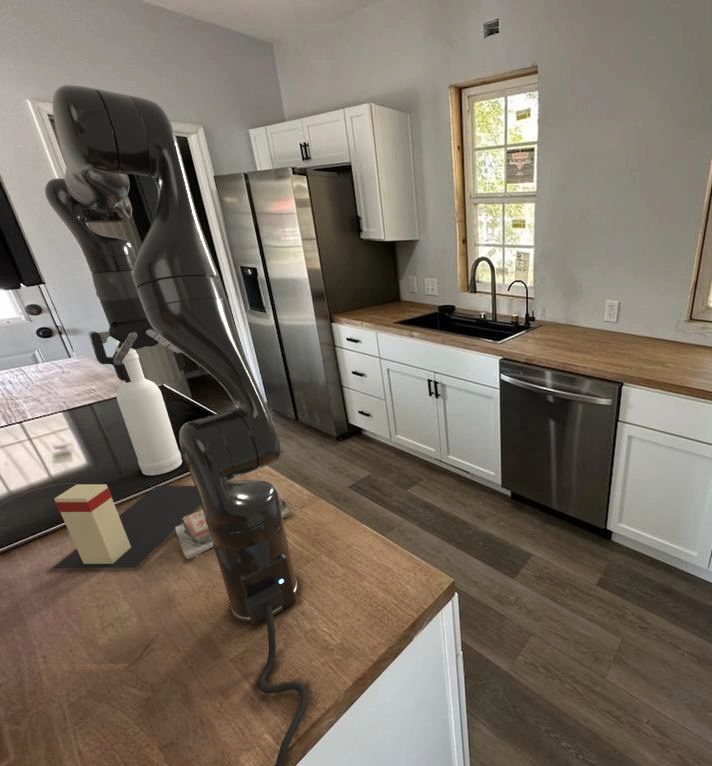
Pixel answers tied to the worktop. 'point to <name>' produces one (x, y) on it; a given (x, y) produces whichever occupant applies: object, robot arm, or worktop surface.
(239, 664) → the worktop surface
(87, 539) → the carton
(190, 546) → the packaged product
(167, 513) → the mat
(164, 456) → the bottle
